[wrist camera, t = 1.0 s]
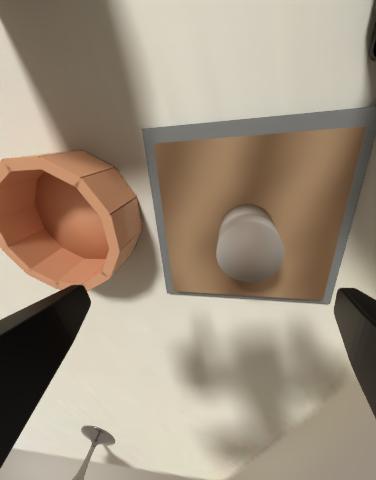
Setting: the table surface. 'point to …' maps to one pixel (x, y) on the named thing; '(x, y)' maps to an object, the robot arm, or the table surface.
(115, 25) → the table surface
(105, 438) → the wine glass
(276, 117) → the mat
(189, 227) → the lid
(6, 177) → the bowl
